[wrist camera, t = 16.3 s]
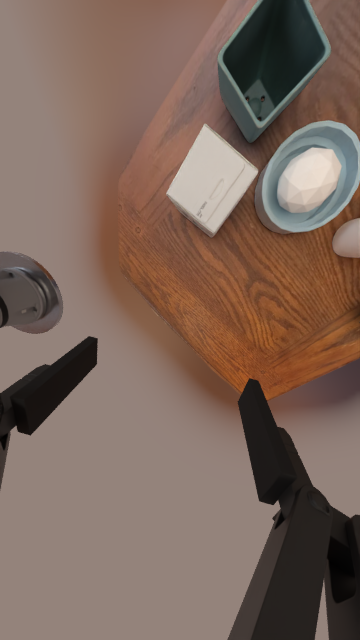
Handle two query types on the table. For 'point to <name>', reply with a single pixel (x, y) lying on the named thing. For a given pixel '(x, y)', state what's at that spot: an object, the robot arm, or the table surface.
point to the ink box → (210, 181)
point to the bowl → (327, 134)
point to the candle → (348, 239)
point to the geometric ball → (308, 180)
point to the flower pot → (270, 62)
